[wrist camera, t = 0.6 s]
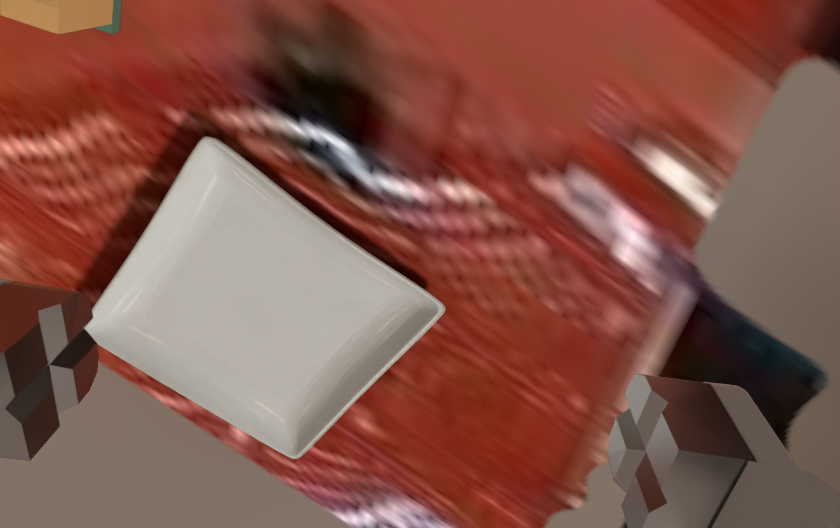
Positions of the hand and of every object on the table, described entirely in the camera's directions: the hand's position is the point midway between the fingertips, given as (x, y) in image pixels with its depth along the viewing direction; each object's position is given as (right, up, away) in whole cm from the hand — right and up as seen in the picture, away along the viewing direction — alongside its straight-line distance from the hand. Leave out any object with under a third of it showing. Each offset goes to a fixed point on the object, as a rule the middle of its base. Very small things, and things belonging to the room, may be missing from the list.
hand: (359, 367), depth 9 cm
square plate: (-15, -3, +53) cm, 55 cm away
